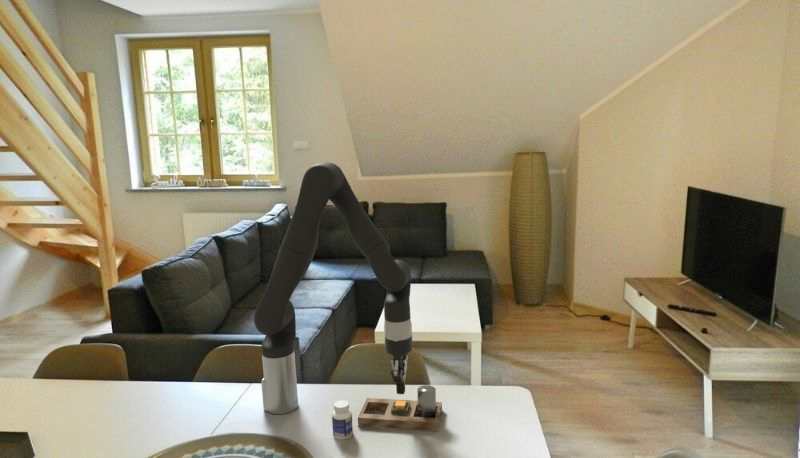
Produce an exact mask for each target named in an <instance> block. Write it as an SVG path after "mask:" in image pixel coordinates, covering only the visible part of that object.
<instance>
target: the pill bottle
mask: <svg viewBox="0 0 800 458" xmlns="http://www.w3.org/2000/svg"><path fill="white" fill-rule="evenodd" d="M331 423H332V435H333V438H334V439H337V440H339V441H341V440H342V441H343V440H347V439H350V438H351V437H352V436H353V433H354V430H353V429H354V428H353V412H352V410H351V409H350V403H349V401H347V400H345V399H344V400H341V399H340V400H337V401H335V402H334V403H333V411H332V412H331Z"/></svg>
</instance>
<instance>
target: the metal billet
mask: <svg viewBox="0 0 800 458" xmlns="http://www.w3.org/2000/svg"><path fill="white" fill-rule="evenodd" d="M416 392H417V401H418V413H417V417H424V418H435V416H436V402H437V401H436V399H437V398H436V396H437V394H436V393H437V391H436V387H434V386H432V385H427V384H426V385H425V384H424V385H421V386H418V388H417V391H416Z"/></svg>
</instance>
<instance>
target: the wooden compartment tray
mask: <svg viewBox="0 0 800 458" xmlns="http://www.w3.org/2000/svg"><path fill="white" fill-rule="evenodd" d="M396 400H398V401H406V408H405V409H395V403H396ZM369 411H381V412H384V414H375V413H369ZM442 413H443V402H442V401H436V416H435V418H424V417H418V416H417V415H418V400H412V399H411V400H410V399H409V400H408V399H393V398H375V397H366V400H365V401H364V403H363V406H362V408H361V410H360V411H359V414H358V417H357V426H358V427H366V428H367V427H368V428H382V429H393V430H395V429H398V430H410V431H411V430H412V431H413V430H414V431H425V432H439V430H440V423H441V417H442Z"/></svg>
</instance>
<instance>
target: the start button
mask: <svg viewBox="0 0 800 458" xmlns="http://www.w3.org/2000/svg"><path fill="white" fill-rule="evenodd" d="M395 400H396V403H395V409H405V408H406V401H398V400H399V399H395Z"/></svg>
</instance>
